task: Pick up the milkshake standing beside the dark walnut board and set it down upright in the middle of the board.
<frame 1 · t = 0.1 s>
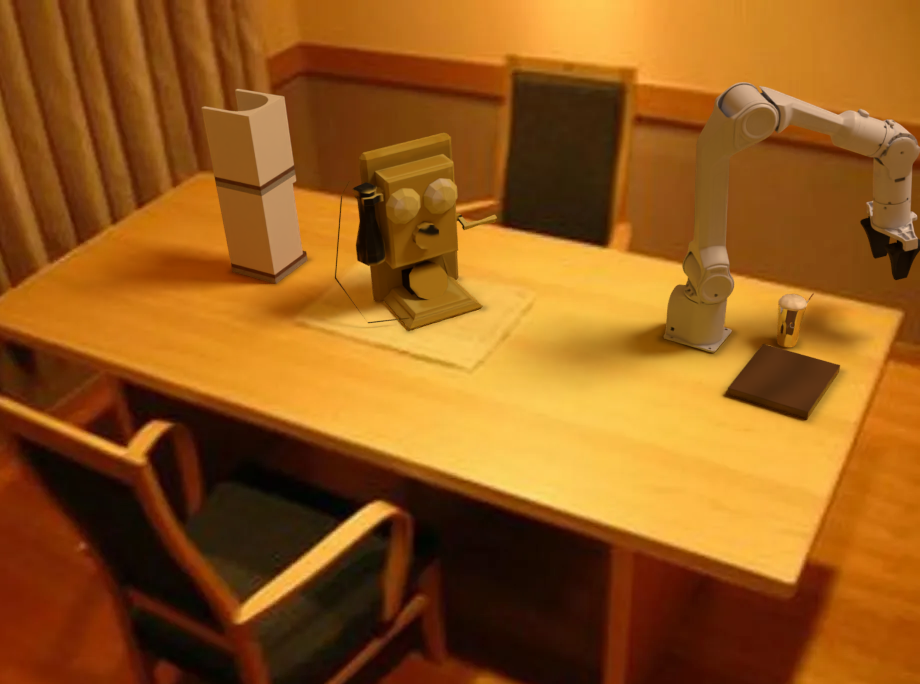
hand: (890, 267, 183), 11 cm above the table, tool pointing down, fingers open, 7 cm apart
scooped banded pillar: (270, 266, 222), on the table
milkshake: (788, 343, 185), on the table
board: (783, 383, 176), on the table
vintage telephone: (424, 305, 205), on the table
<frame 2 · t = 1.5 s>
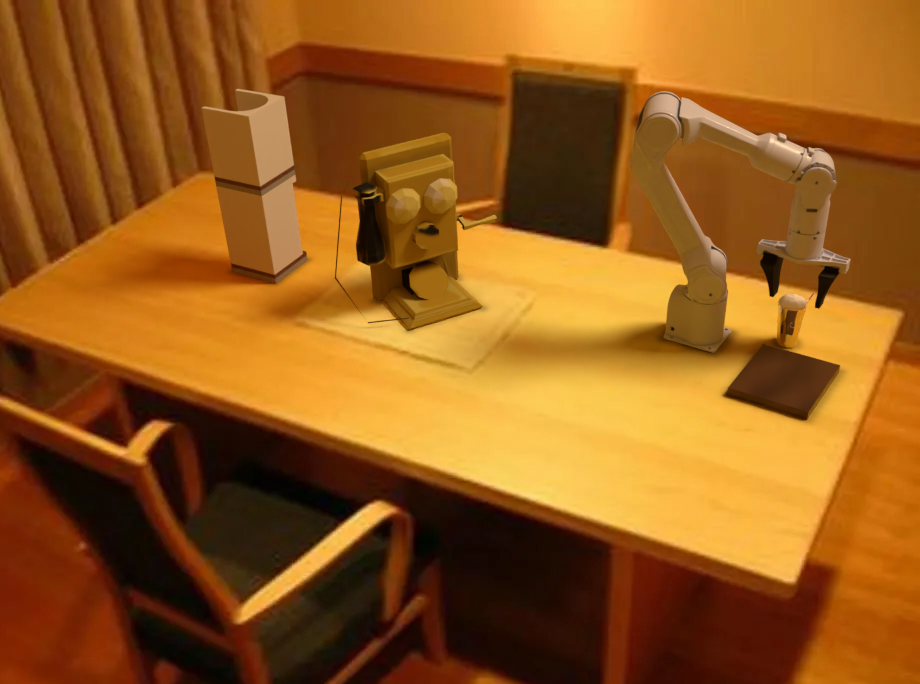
hand: (796, 299, 180), 9 cm above the table, tool pointing down, fingers open, 7 cm apart
nothing on the table moved.
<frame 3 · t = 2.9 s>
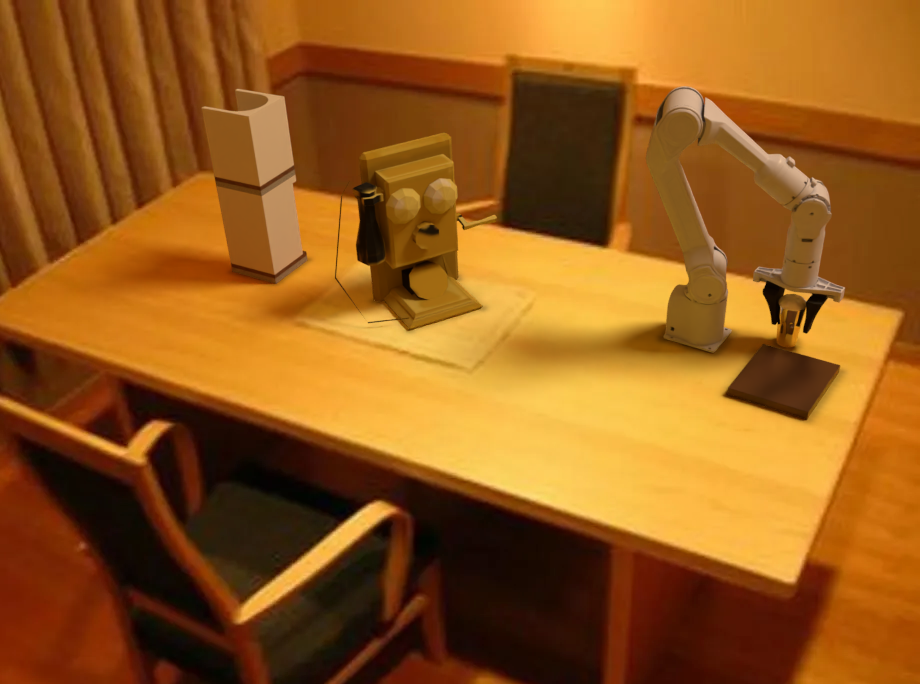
hand: (791, 326, 183), 3 cm above the table, tool pointing down, fingers closed on milkshake, 5 cm apart
milkshake: (788, 343, 185), on the table, touching gripper
everything else where it was.
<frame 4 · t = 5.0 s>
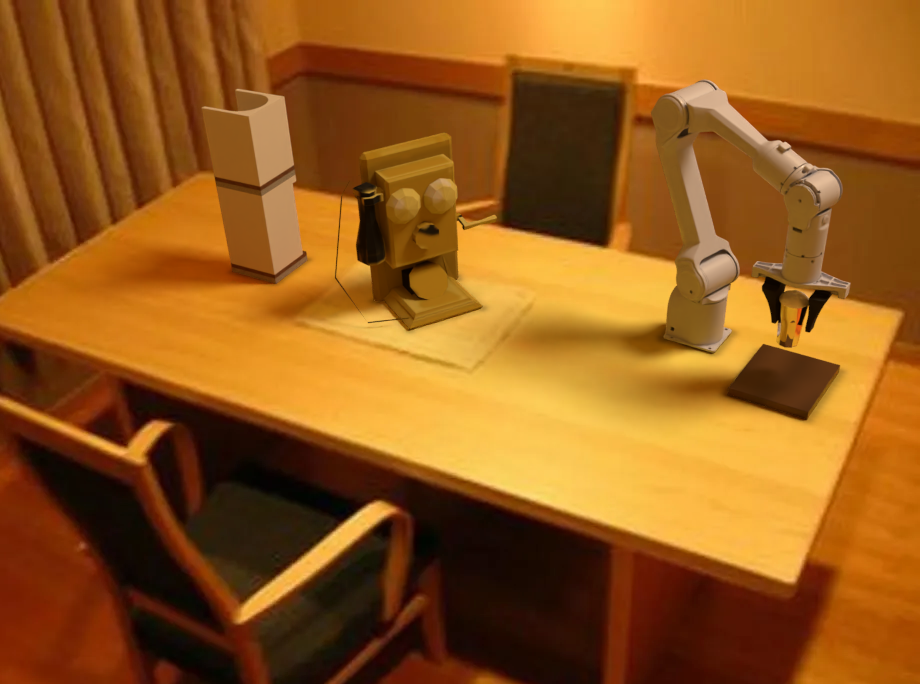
hand: (792, 324, 171), 10 cm above the table, tool pointing down, fingers closed on milkshake, 5 cm apart
milkshake: (789, 343, 173), point 7 cm above the table, touching gripper
everything else where it was.
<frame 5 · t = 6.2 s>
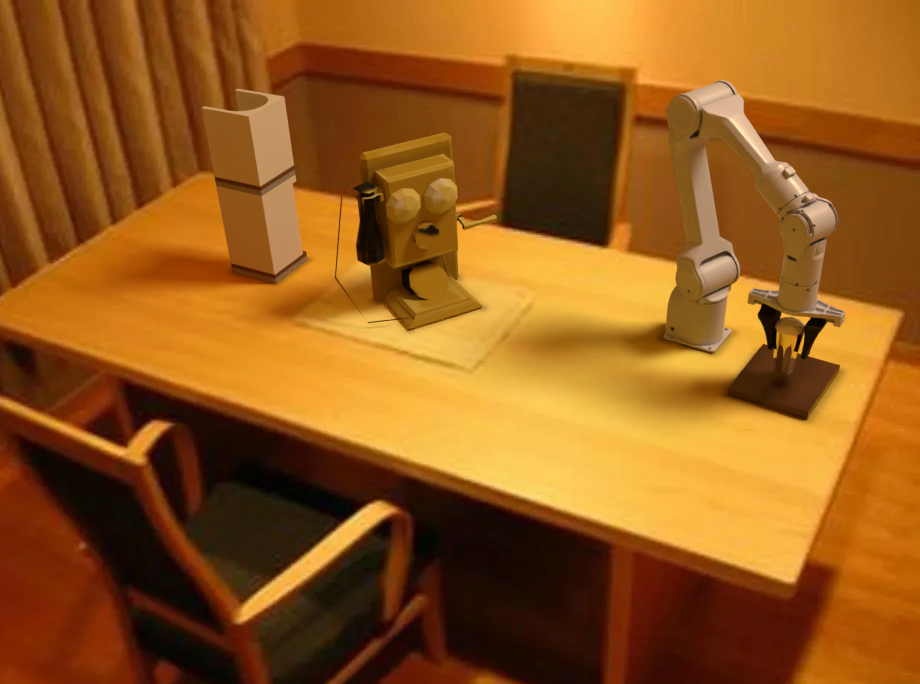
hand: (788, 351, 172), 6 cm above the table, tool pointing down, fingers closed on milkshake, 5 cm apart
milkshake: (785, 369, 174), point 3 cm above the table, touching gripper
everything else where it was.
when the fingers open (5 cm above the table, at t = 7.2 s): milkshake stays where it is, resting on board.
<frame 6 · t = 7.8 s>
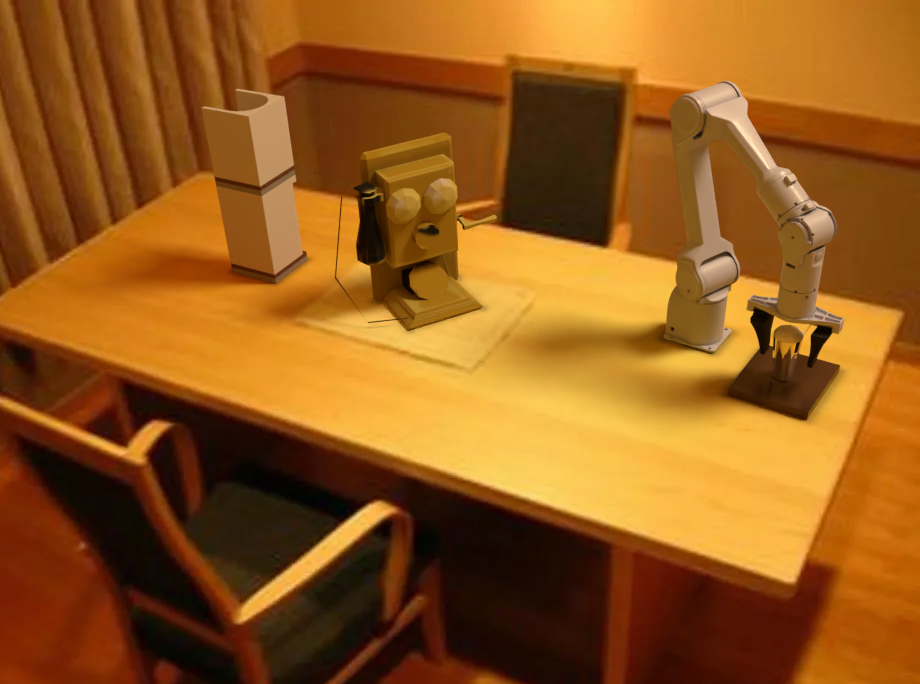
hand: (787, 357, 173), 5 cm above the table, tool pointing down, fingers open, 7 cm apart
milkshake: (784, 377, 175), point 1 cm above the table, touching board
everything else where it was.
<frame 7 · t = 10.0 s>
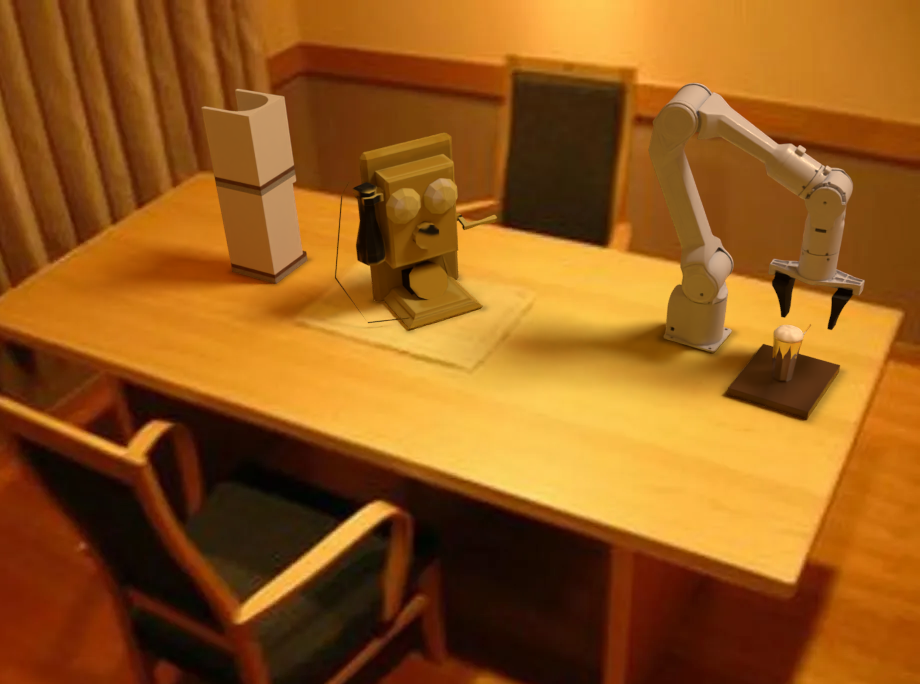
hand: (808, 320, 177), 7 cm above the table, tool pointing down, fingers open, 7 cm apart
nothing on the table moved.
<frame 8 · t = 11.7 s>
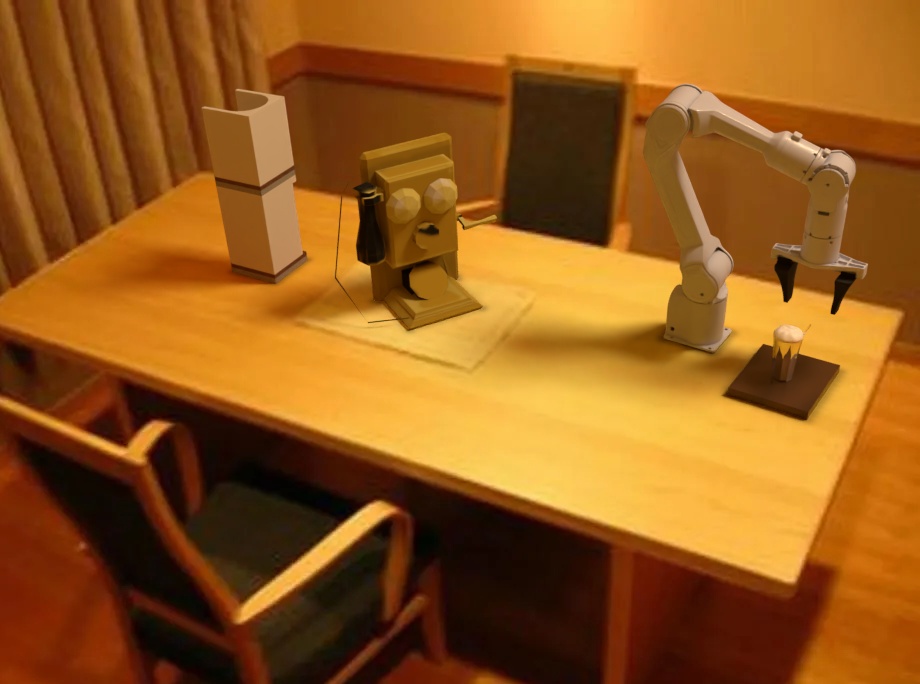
hand: (810, 305, 175), 10 cm above the table, tool pointing down, fingers open, 7 cm apart
nothing on the table moved.
at the end: milkshake inside the target area on the board (0.0 cm from its centre), point 1.3 cm above the board's base; milkshake tilted 0°; the gripper is holding nothing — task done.
